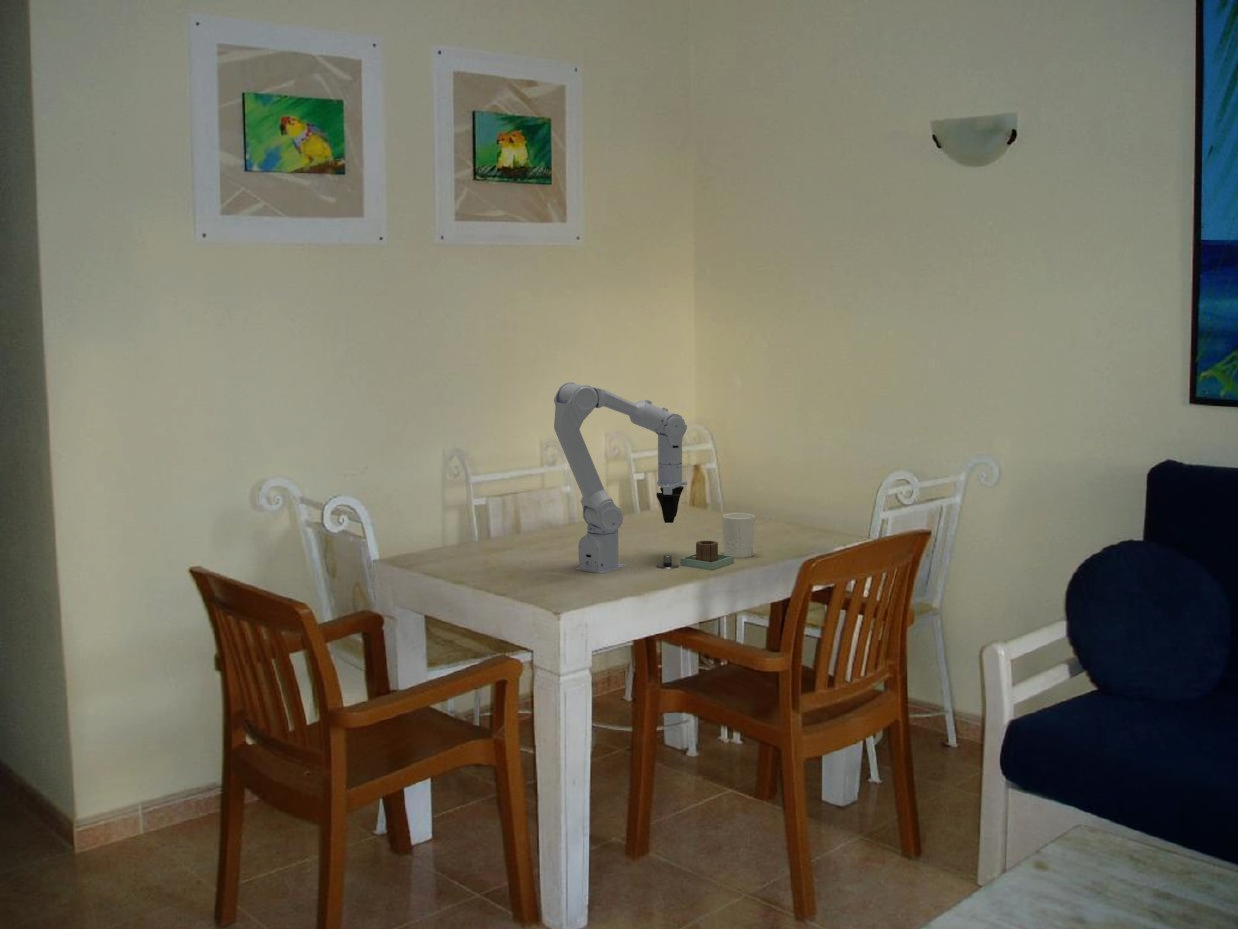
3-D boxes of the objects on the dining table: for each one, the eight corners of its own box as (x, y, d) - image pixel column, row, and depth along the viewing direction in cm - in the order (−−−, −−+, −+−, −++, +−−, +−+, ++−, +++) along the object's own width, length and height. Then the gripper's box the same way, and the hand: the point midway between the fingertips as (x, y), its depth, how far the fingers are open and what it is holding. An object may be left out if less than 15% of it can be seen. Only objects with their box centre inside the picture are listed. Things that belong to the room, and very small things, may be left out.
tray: (712, 571, 295) (712, 563, 295) (680, 566, 301) (680, 558, 300) (733, 564, 302) (733, 556, 302) (701, 559, 308) (701, 551, 307)
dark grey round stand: (670, 571, 296) (670, 559, 296) (650, 568, 299) (650, 556, 299) (684, 567, 300) (684, 554, 300) (664, 564, 304) (664, 552, 303)
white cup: (760, 554, 313) (760, 514, 311) (746, 561, 306) (746, 519, 305) (730, 551, 317) (730, 511, 315) (716, 557, 310) (716, 517, 309)
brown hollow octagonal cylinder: (718, 561, 304) (718, 540, 303) (717, 566, 299) (717, 545, 298) (692, 561, 304) (692, 540, 304) (691, 565, 299) (691, 544, 299)
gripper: (684, 467, 297) (684, 525, 299) (689, 458, 311) (689, 514, 313) (654, 467, 298) (654, 525, 300) (660, 458, 312) (660, 513, 314)
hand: (670, 519), depth 306 cm, fingers open, 7 cm apart
